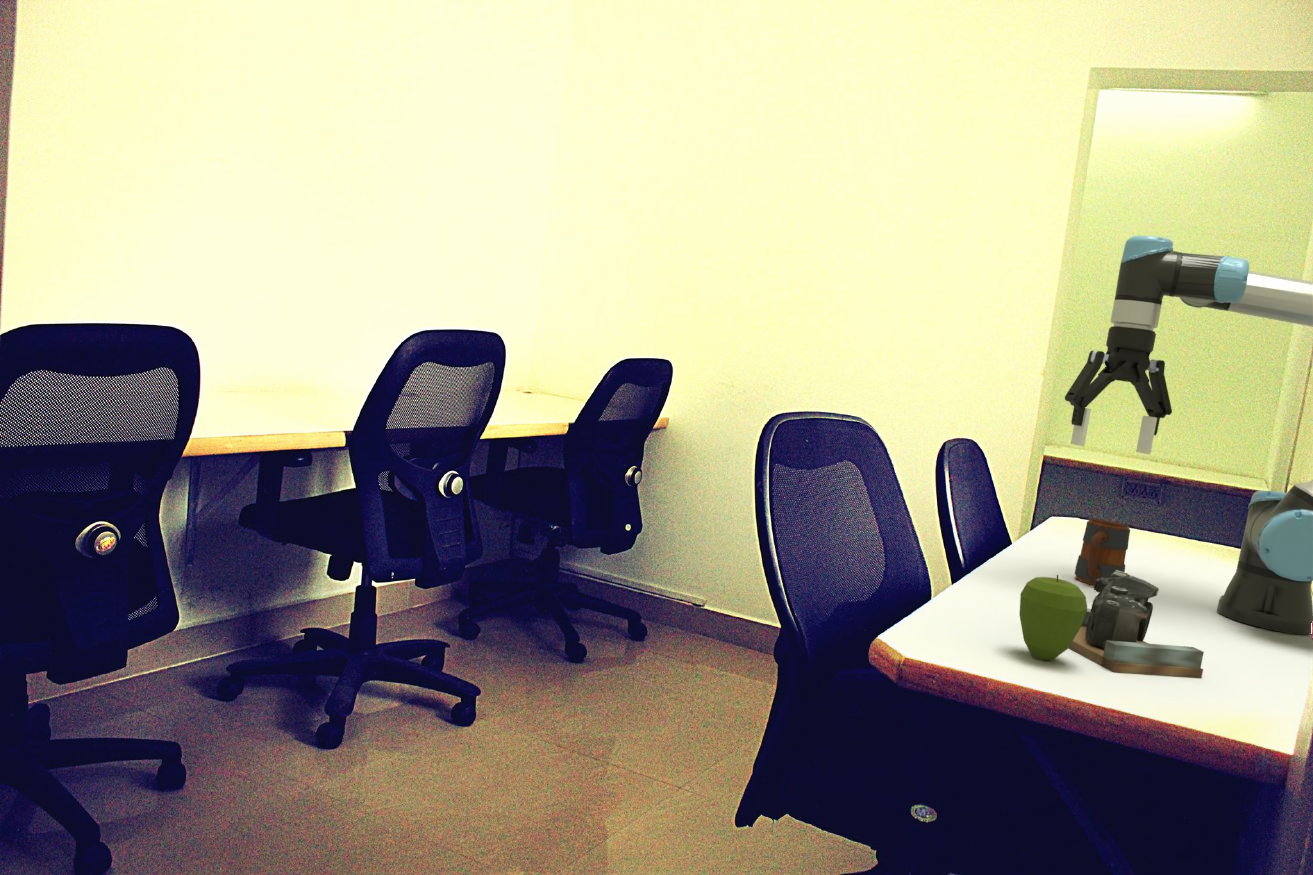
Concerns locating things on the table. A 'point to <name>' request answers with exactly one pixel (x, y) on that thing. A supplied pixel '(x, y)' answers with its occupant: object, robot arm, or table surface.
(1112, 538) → the mug
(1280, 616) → the robot arm
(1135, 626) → the camera
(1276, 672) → the table surface
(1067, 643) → the apple
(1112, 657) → the stand
